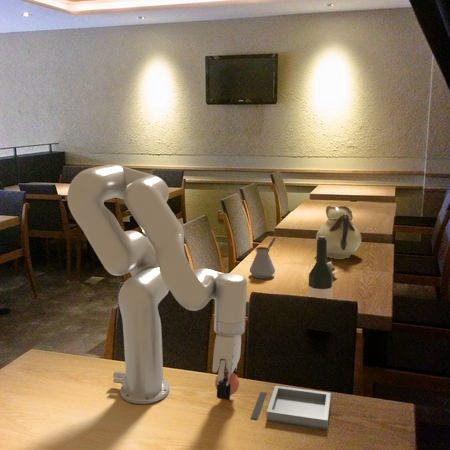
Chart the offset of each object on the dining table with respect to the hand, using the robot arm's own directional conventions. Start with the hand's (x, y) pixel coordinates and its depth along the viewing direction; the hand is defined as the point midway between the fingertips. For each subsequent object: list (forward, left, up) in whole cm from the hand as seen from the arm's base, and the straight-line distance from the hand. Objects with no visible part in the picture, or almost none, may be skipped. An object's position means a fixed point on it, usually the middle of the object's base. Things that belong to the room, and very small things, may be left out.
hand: (226, 390), depth 125 cm
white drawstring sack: (+21, +145, -3) cm, 147 cm away
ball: (0, 0, +2) cm, 2 cm away
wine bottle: (+18, +59, -3) cm, 62 cm away
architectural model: (+19, +108, -4) cm, 110 cm away
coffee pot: (-10, +108, -3) cm, 109 cm away
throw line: (+8, 0, -3) cm, 9 cm away
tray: (+18, 0, -3) cm, 18 cm away
